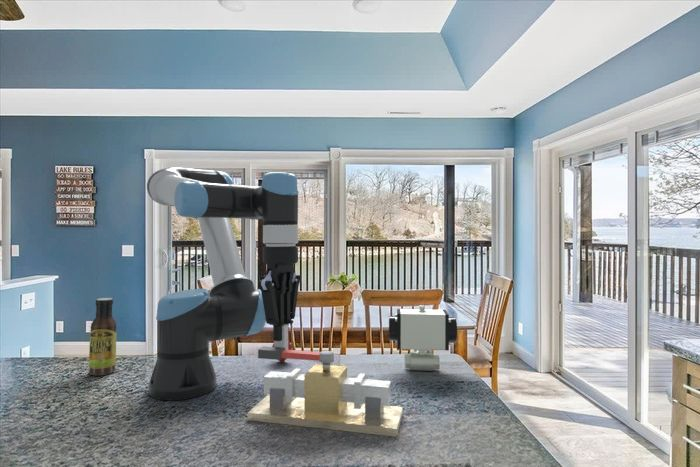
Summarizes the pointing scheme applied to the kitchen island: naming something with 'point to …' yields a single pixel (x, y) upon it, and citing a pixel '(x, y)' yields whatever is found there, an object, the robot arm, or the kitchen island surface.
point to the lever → (295, 354)
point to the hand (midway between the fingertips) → (281, 354)
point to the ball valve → (422, 335)
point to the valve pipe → (328, 401)
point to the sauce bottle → (103, 339)
